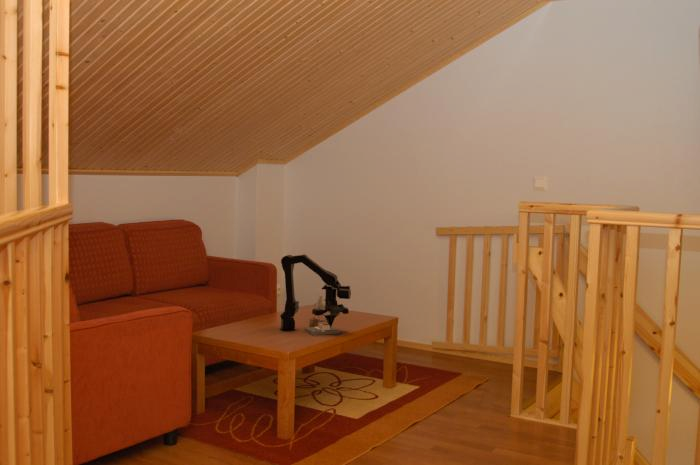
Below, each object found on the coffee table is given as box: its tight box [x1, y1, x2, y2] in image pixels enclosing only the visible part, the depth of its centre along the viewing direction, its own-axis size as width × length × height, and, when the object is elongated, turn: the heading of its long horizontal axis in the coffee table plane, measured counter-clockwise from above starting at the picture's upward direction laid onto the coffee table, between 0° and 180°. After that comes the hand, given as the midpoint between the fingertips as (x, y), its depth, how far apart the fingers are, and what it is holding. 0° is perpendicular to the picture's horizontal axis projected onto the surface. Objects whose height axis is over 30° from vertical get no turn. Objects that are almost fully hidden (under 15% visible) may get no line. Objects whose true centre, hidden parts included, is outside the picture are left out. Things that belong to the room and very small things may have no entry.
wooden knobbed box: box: [309, 316, 319, 327], centre depth 422 cm, size 4×4×6 cm
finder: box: [318, 322, 330, 330], centre depth 410 cm, size 4×5×3 cm
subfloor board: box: [304, 325, 341, 336], centre depth 413 cm, size 15×12×2 cm
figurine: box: [311, 294, 326, 322], centre depth 440 cm, size 11×4×15 cm, turn 61°
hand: (330, 327), depth 412 cm, fingers closed
